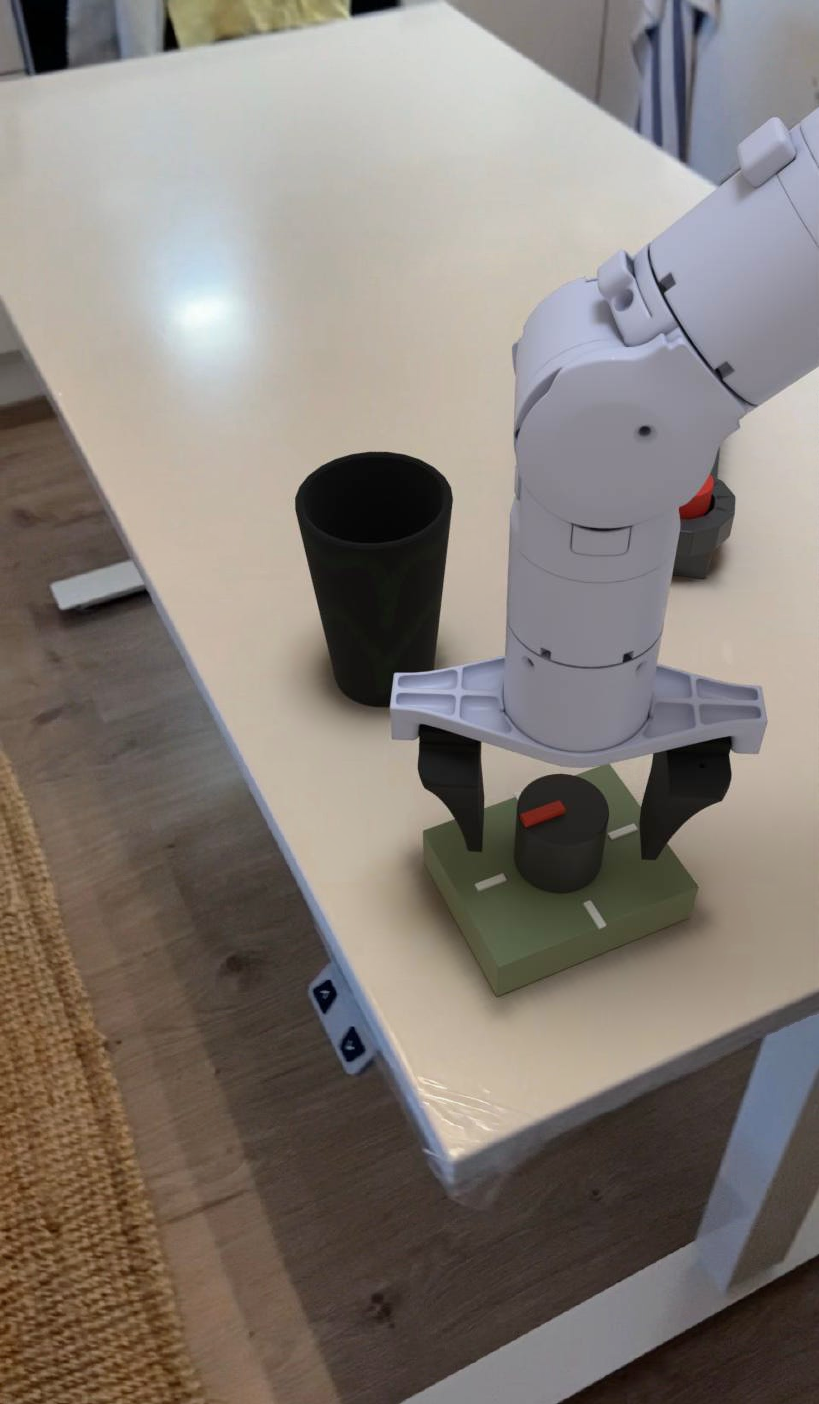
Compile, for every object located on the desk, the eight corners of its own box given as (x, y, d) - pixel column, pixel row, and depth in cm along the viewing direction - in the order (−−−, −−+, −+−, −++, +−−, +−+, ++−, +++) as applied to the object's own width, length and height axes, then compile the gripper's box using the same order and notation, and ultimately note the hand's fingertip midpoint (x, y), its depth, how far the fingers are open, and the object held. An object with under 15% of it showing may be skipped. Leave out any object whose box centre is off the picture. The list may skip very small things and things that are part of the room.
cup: (396, 742, 63) (387, 568, 54) (287, 681, 66) (261, 508, 57) (479, 659, 67) (483, 484, 58) (373, 605, 70) (361, 432, 61)
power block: (576, 397, 85) (580, 347, 82) (733, 413, 83) (743, 362, 80) (537, 567, 72) (541, 515, 69) (721, 590, 70) (733, 537, 67)
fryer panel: (603, 792, 60) (608, 758, 58) (692, 919, 55) (701, 886, 53) (422, 860, 58) (421, 826, 56) (497, 999, 52) (499, 967, 50)
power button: (656, 485, 72) (659, 460, 70) (710, 490, 71) (715, 466, 70) (651, 517, 69) (655, 493, 68) (707, 523, 69) (712, 499, 68)
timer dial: (575, 811, 56) (582, 757, 53) (618, 875, 54) (627, 822, 51) (499, 839, 55) (501, 785, 52) (538, 906, 53) (543, 853, 50)
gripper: (773, 548, 46) (717, 775, 55) (396, 538, 47) (407, 762, 57) (800, 680, 41) (733, 903, 51) (379, 665, 42) (394, 886, 52)
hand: (561, 837), depth 53 cm, fingers open, 7 cm apart
